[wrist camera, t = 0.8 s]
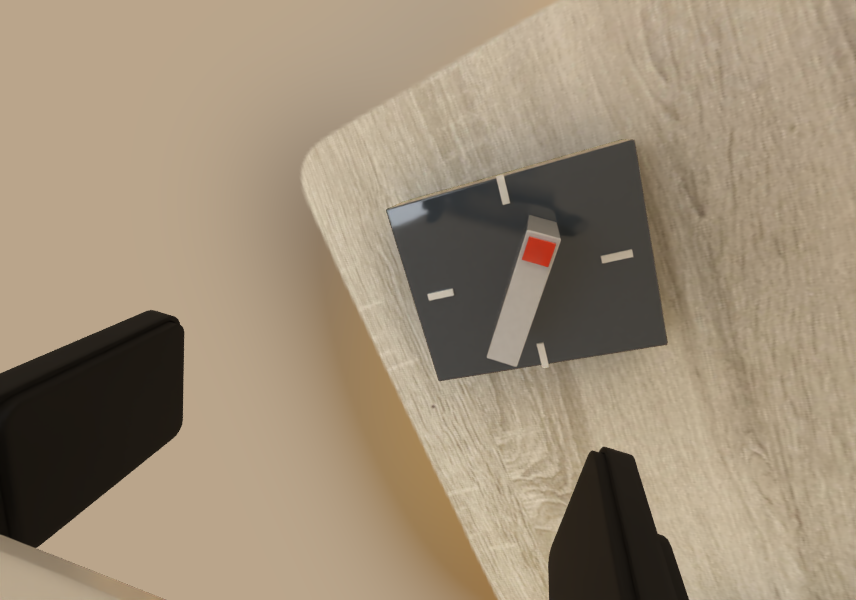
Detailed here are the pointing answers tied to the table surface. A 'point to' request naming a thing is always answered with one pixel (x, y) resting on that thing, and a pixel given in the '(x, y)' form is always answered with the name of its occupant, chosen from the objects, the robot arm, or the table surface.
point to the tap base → (569, 276)
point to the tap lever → (524, 289)
